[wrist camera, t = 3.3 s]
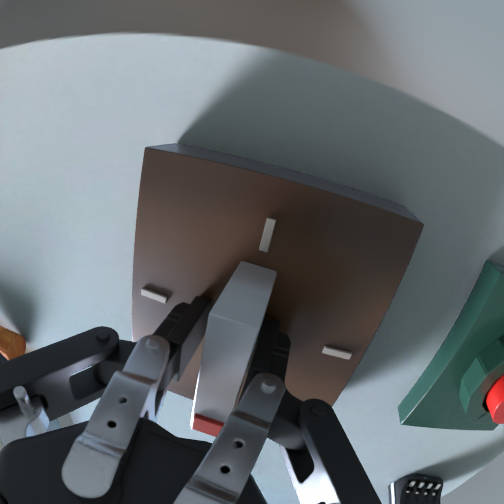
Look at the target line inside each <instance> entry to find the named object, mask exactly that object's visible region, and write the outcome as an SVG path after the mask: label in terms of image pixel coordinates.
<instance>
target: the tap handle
mask: <svg viewBox="0 0 504 504" xmlns="http://www.w3.org/2000/svg"><path fill="white" fill-rule="evenodd" d="M276 276H277V271H274V270H271V269H268V268H264V267H261V266H258V265H254V264H251V263H248V262H244V261H241V262H240V264H239V265H238V267H237V269H236V270H235V272H234V273H233V275H232V277H231V278H230V280H229V282H228V283H227V285H226V287H225V288H224V290H223V292H222V293H221V295H220V296H219V298H218V300H217V301H216V303H215V305H214V306H213V308H212V310H211V311H210V313H209V317H208V322H207V328H206V333H205V339H204V344H203V350H202V356H201V362H200V368H199V373H198V379H197V385H196V391H195V398H194V404H193V410H192V416H191V423H190V425H191V426H192V429H194V430H197V431H200V432H203V433H206V434H209V435H212V436H215V437H217V435H218V434H219V432H220V430H221V429H222V427H223V425H224V424H225V422H226V420H227V418H228V417H229V415H230V413H231V412H232V411H234V408H235V405H236V403H237V400H238V397H239V394H240V391H241V388H242V385H243V382H244V379H245V376H246V373H247V370H248V367H249V364H250V360H251V357H252V354H253V351H254V348H255V345H256V341H257V338H258V335H259V332H260V329H261V325H262V322H263V319H264V316H265V312H266V309H267V306H268V302H269V299H270V296H271V293H272V289H273V286H274V282H275V279H276Z"/></svg>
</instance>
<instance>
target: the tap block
mask: <svg viewBox="0 0 504 504" xmlns="http://www.w3.org/2000/svg"><path fill="white" fill-rule="evenodd" d="M423 226H424V224H423V223H422V222H421V221H420V220H419V219H418V218H417V217H416V216H415V215H414V214H413V213H412V212H411V211H409V210H408V209H407V208H406V207H405V206H402V205H399V204H396V203H394V202H391V201H388V200H385V199H382V198H379V197H376V196H373V195H370V194H367V193H364V192H361V191H358V190H355V189H352V188H349V187H346V186H343V185H340V184H336V183H333V182H330V181H327V180H323V179H320V178H316V177H313V176H310V175H306V174H303V173H299V172H295V171H292V170H288V169H285V168H281V167H277V166H273V165H269V164H265V163H262V162H258V161H254V160H249V159H245V158H241V157H237V156H233V155H228V154H224V153H219V152H215V151H210V150H206V149H201V148H196V147H191V146H186V145H181V144H176V143H174V144H165V145H158V146H150V147H145V151H144V158H143V165H142V173H141V181H140V189H139V198H138V208H137V218H136V230H135V244H134V261H133V286H132V342H138V340H139V339H140V338H141V337H143V336H146V335H152V334H153V333H154V332H155V331H156V329H157V328H158V327H159V325H160V324H161V323H162V322H163V320H164V319H165V318H166V317H167V315H168V314H169V313H170V312H171V310H172V309H173V308H174V307H175V306H176V305H178V304H180V303H182V302H185V303H188V304H191V302H192V301H193V299H194V298H195V297H196V296H200V297H203V298H206V299H209V300H211V301H212V303H211V309H210V311H211V310H212V308H213V306H214V305H215V303H216V301H217V300H218V298H219V296H220V295H221V293H222V292H223V290H224V288H225V287H226V285H227V283H228V282H229V280H230V278H231V277H232V275H233V273H234V272H235V270H236V269H237V267H238V265H239V264H240V262H241V261H244V262H248V263H251V264H254V265H258V266H261V267H264V268H268V269H271V270H274V271H277V276H276V279H275V282H274V286H273V289H272V293H271V296H270V299H269V302H268V306H267V309H266V312H265V316H264V319H263V322H262V325H261V329H260V332H259V335H258V338H257V341H256V345H255V348H254V351H253V354H252V357H251V360H250V364H249V367H248V370H247V373H246V376H245V379H244V382H243V385H242V388H241V391H240V394H239V397H238V400H237V403H236V405H235V408H236V407H237V405H238V402H239V399H240V396H241V393H242V390H243V387H244V383H245V380H246V377H247V374H248V371H249V368H250V365H251V362H252V359H253V355H254V352H255V349H256V346H257V343H258V340H259V336H260V333H261V330H262V327H263V324H264V320H265V317H266V318H270V319H273V320H276V321H280V325H279V329H278V332H280V333H283V334H287V335H288V336H289V339H290V341H291V347H290V353H289V359H288V365H287V370H286V376H285V386H286V388H287V390H288V391H289V392H290V393H291V394H292V395H293V396H294V397H296V398H298V399H300V400H302V401H305V400H308V399H312V398H315V399H320V400H323V401H325V402H327V403H328V404H329V405H330V406H331V407H332V406H333V404H334V403H335V401H336V400H337V398H338V397H339V395H340V394H341V392H342V390H343V389H344V387H345V386H346V384H347V382H348V381H349V379H350V377H351V376H352V374H353V372H354V371H355V369H356V367H357V365H358V364H359V362H360V360H361V358H362V357H363V355H364V353H365V351H366V350H367V348H368V346H369V344H370V342H371V340H372V339H373V337H374V335H375V333H376V331H377V329H378V327H379V325H380V323H381V321H382V319H383V317H384V315H385V313H386V311H387V309H388V307H389V305H390V303H391V301H392V299H393V297H394V295H395V293H396V291H397V288H398V286H399V284H400V282H401V280H402V277H403V275H404V273H405V271H406V268H407V266H408V264H409V261H410V259H411V257H412V254H413V252H414V249H415V247H416V244H417V242H418V239H419V237H420V234H421V231H422V229H423ZM205 333H206V332H205ZM204 339H205V335H204V337H203V339H202V341H201V342H200V344H199V346H198V348H197V350H196V351H195V353H194V355H193V357H192V358H191V360H190V362H189V364H188V366H187V367H186V369H185V371H184V373H183V375H182V376H181V378H180V380H179V382H176V381H173V380H171V382H170V383H169V385H168V387H167V390H168V391H171V392H173V393H176V394H178V395H181V396H184V397H186V398H189V399H192V400H194V398H195V391H196V385H197V379H198V373H199V368H200V362H201V356H202V350H203V344H204ZM235 408H234V410H235Z"/></svg>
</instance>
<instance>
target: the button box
mask: <svg viewBox="0 0 504 504" xmlns="http://www.w3.org/2000/svg"><path fill="white" fill-rule="evenodd" d="M502 375H504V266H501V265H499V264H497V263H494V262H492V261H490V260H487V261H486V263H485V265H484V268H483V270H482V272H481V274H480V276H479V278H478V281H477V283H476V285H475V287H474V289H473V291H472V293H471V295H470V297H469V299H468V300H467V302H466V304H465V306H464V308H463V310H462V312H461V313H460V315H459V317H458V319H457V321H456V322H455V324H454V326H453V328H452V329H451V331H450V333H449V334H448V336H447V338H446V339H445V341H444V343H443V344H442V346H441V347H440V349H439V350H438V352H437V354H436V355H435V357H434V358H433V360H432V361H431V363H430V364H429V366H428V367H427V369H426V370H425V371H424V373H423V374H422V376H421V377H420V379H419V380H418V381H417V383H416V384H415V386H414V387H413V388H412V390H411V391H410V392H409V394H408V395H407V396H406V398H405V399H404V400H403V401H402V403H401V404H400V405H399V407H398V411H399V417H400V424H401V425H409V426H419V427H429V428H441V429H458V430H494V429H495V428H496V427H497V426H498V425H499V424H497V423H495V422H494V421H493V419H492V416H491V414H490V411H489V409H488V406H487V404H486V401H485V396H486V393H487V391H488V390H489V389H490V388H491V386H492V385H493V384H494V382H495V381H496V380H497V379H498V378H500V377H501V376H502Z"/></svg>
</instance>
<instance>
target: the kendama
mask: <svg viewBox="0 0 504 504" xmlns="http://www.w3.org/2000/svg"><path fill="white" fill-rule="evenodd" d="M25 349H26V341H25V338H24V337H23V336H22V335H20V334H17V333H15V332H13V331H10V330H8V329H6V328H4V327H2V326H0V353H1V354H2V355H3V356H5V357H6V358H7V359H8V360H11V359H13V358H16V357H19V356H21V355H24V353H25Z"/></svg>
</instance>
